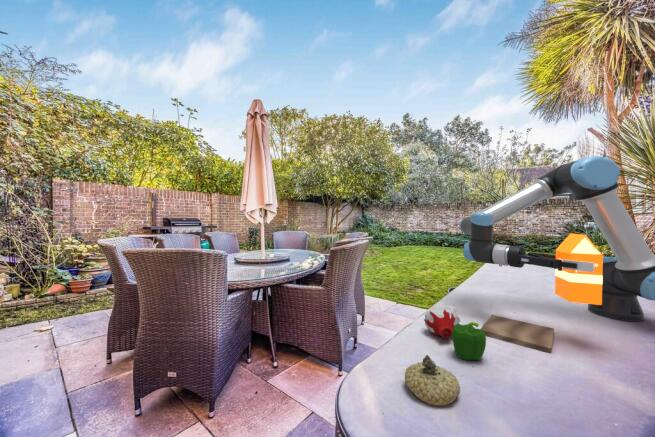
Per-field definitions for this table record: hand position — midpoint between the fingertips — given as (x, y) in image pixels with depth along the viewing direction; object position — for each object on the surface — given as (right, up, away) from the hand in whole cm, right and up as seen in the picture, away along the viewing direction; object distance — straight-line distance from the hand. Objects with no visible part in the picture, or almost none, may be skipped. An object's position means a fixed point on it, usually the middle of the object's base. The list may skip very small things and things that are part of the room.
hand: (597, 265), depth 77 cm
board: (-16, -25, +10) cm, 31 cm away
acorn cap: (-56, -25, -18) cm, 64 cm away
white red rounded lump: (-42, -25, +9) cm, 49 cm away
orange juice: (-3, -11, +3) cm, 12 cm away
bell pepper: (-40, -25, -4) cm, 48 cm away
